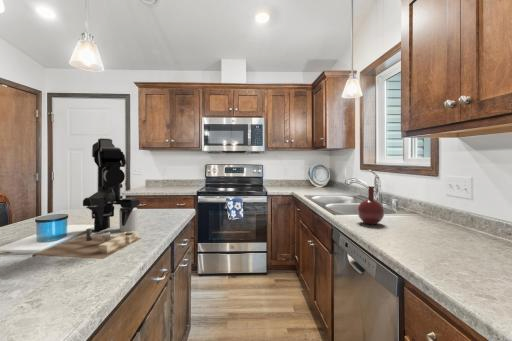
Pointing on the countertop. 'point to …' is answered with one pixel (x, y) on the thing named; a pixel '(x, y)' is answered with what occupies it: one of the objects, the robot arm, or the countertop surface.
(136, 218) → the can
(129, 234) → the link
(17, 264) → the countertop surface
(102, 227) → the robot arm
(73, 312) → the countertop surface
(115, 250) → the base board
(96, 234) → the keeper
